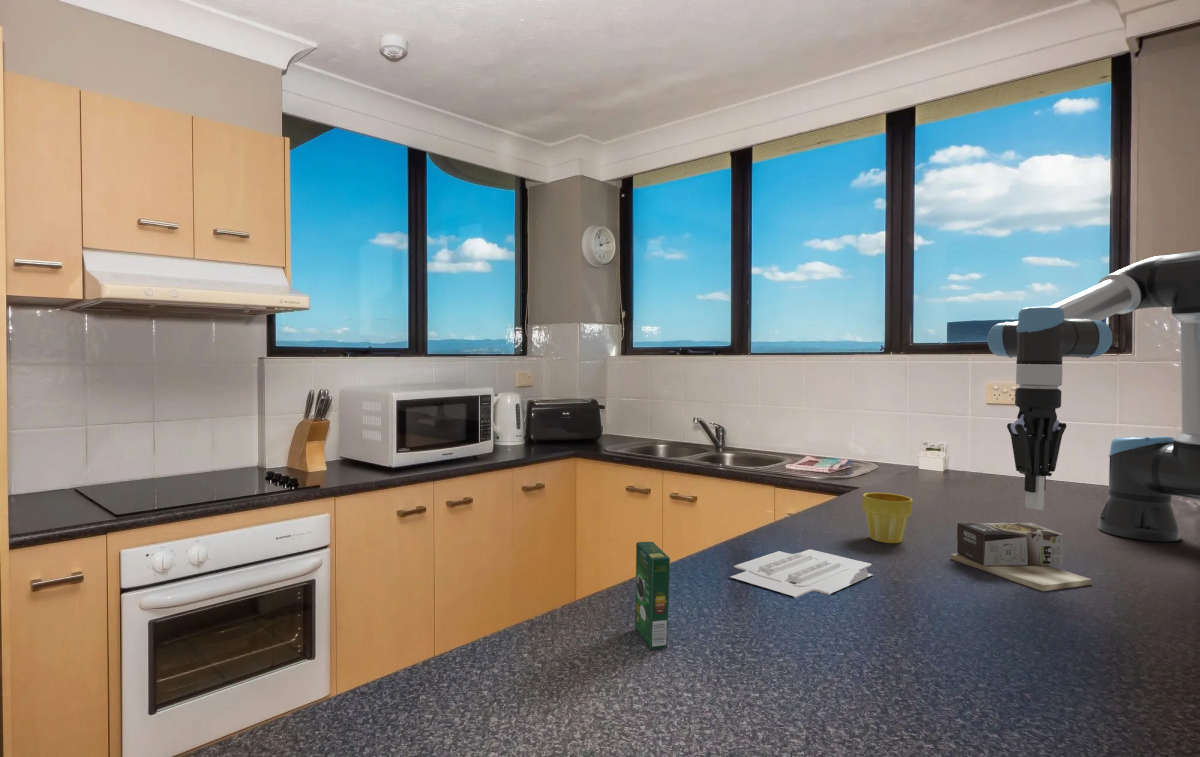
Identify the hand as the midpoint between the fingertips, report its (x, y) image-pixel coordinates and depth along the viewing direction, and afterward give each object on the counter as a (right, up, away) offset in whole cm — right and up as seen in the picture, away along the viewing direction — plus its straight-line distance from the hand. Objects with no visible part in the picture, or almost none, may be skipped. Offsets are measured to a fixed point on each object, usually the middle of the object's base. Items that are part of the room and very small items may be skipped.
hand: (1034, 508), depth 132 cm
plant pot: (-20, -11, +21) cm, 31 cm away
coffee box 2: (+5, -8, +4) cm, 10 cm away
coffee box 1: (-77, -12, -34) cm, 85 cm away
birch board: (-4, -12, -1) cm, 13 cm away
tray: (-46, -12, -3) cm, 48 cm away
